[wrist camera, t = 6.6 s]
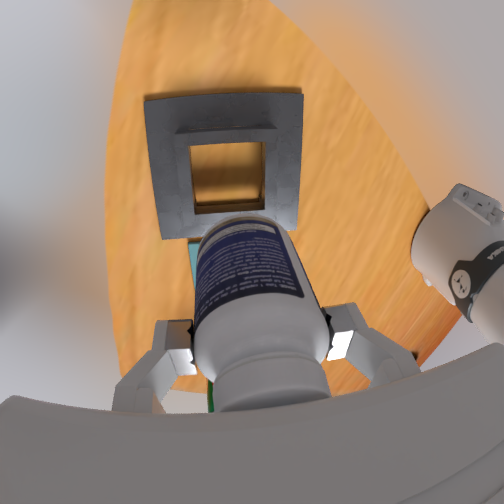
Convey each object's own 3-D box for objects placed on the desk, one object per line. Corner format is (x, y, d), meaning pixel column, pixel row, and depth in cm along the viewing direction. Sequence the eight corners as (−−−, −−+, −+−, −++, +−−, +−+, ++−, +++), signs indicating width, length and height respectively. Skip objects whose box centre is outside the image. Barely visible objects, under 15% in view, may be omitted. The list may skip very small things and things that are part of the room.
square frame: (302, 93, 27) (314, 95, 23) (295, 227, 36) (304, 244, 32) (144, 101, 25) (135, 104, 22) (162, 237, 34) (158, 256, 31)
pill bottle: (177, 258, 16) (160, 423, 8) (242, 190, 15) (282, 350, 6) (246, 303, 19) (270, 448, 11) (310, 249, 17) (377, 395, 9)
